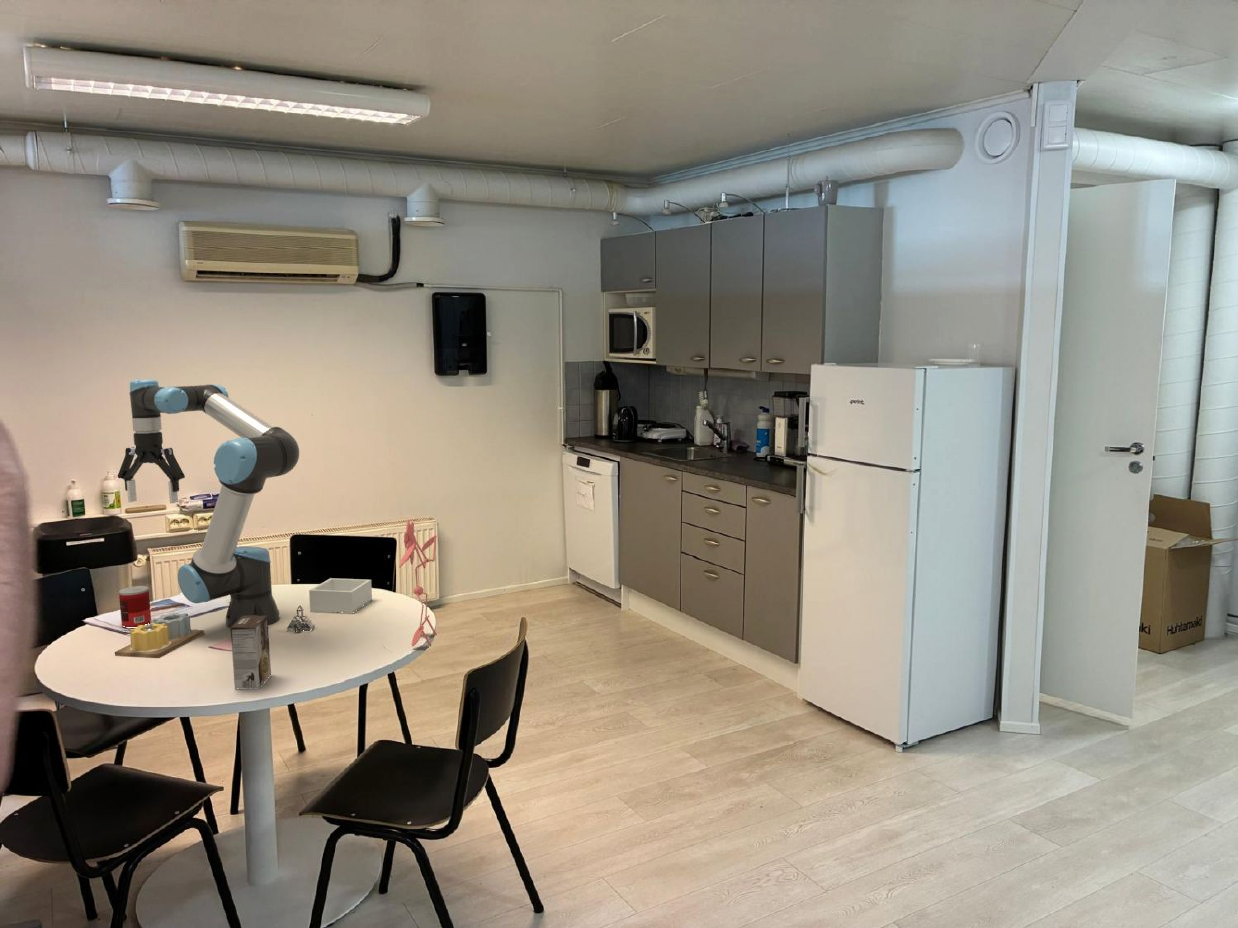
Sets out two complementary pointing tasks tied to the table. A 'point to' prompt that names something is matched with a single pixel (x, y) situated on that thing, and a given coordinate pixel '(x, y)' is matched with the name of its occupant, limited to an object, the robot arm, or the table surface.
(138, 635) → the ochre gear
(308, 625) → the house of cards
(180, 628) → the gear
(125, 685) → the table surface
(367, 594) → the box
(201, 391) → the robot arm
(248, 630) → the coffee box
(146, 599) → the canned food
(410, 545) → the figurine
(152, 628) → the peg
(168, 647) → the gear board
